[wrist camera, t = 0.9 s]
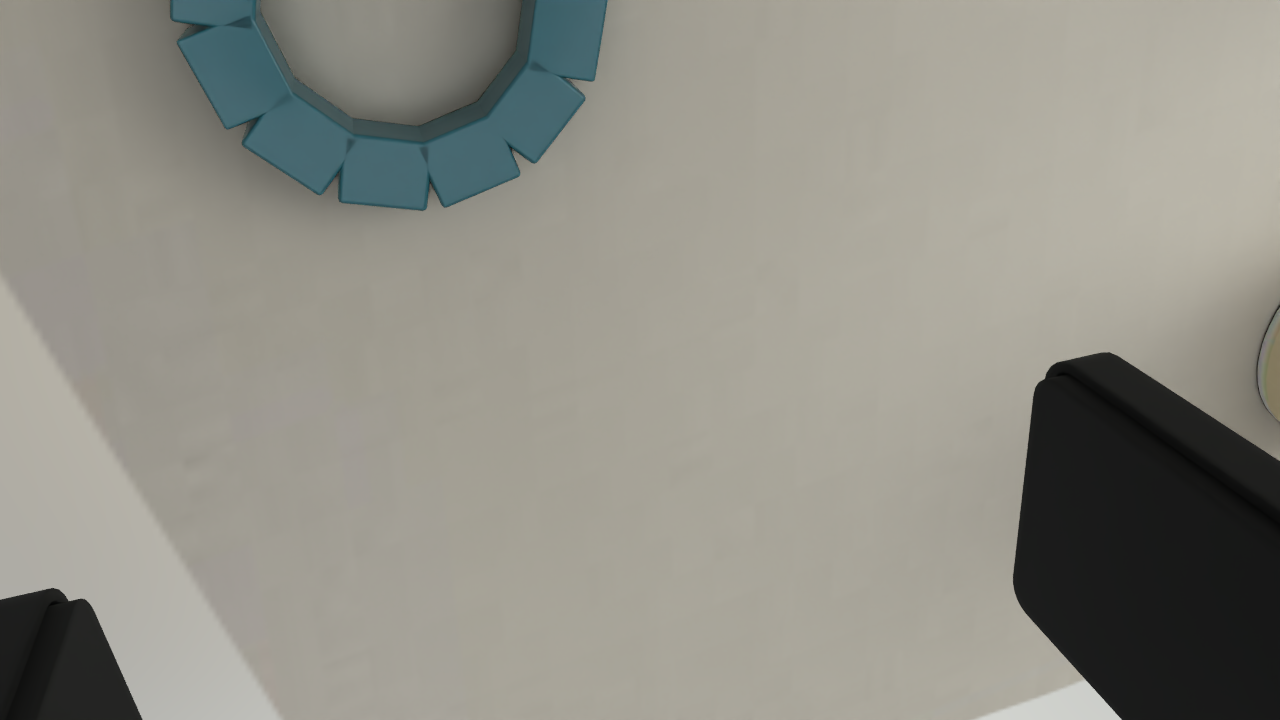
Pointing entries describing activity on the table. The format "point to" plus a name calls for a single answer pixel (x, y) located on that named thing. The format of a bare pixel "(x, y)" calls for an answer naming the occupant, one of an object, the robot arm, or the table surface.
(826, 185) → the table surface
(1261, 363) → the beige lidded canister
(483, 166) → the ring
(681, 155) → the table surface
